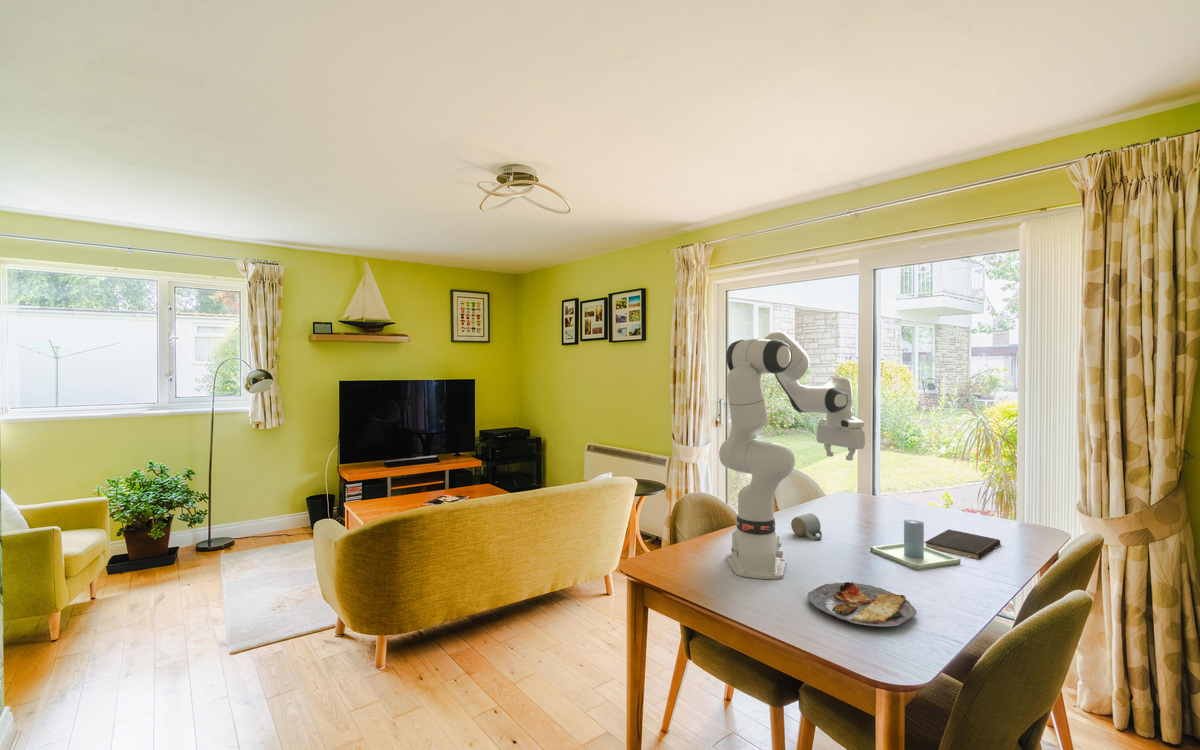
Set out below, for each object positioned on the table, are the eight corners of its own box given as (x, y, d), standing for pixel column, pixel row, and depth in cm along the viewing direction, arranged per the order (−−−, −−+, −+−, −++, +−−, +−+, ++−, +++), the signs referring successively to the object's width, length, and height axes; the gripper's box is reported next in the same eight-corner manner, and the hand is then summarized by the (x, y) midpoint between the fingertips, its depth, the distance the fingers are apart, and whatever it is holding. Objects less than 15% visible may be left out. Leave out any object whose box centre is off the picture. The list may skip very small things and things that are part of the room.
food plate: (842, 582, 153) (842, 570, 153) (931, 612, 134) (931, 598, 134) (792, 607, 138) (792, 594, 138) (883, 645, 119) (883, 630, 119)
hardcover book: (924, 548, 184) (924, 541, 184) (948, 535, 198) (948, 529, 198) (979, 561, 171) (979, 554, 171) (1000, 546, 186) (1000, 539, 186)
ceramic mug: (789, 533, 199) (789, 513, 199) (805, 530, 203) (805, 510, 202) (811, 542, 190) (811, 521, 189) (827, 539, 193) (828, 518, 193)
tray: (870, 551, 179) (870, 546, 179) (911, 545, 185) (911, 541, 184) (916, 570, 162) (916, 565, 162) (960, 563, 167) (960, 559, 167)
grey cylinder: (926, 559, 170) (926, 525, 170) (907, 557, 171) (907, 524, 171) (920, 553, 175) (920, 520, 175) (901, 552, 177) (901, 519, 176)
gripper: (812, 418, 203) (812, 454, 203) (854, 423, 184) (854, 463, 184) (825, 418, 206) (825, 453, 206) (868, 422, 186) (868, 462, 186)
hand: (839, 458), depth 195 cm, fingers open, 8 cm apart
